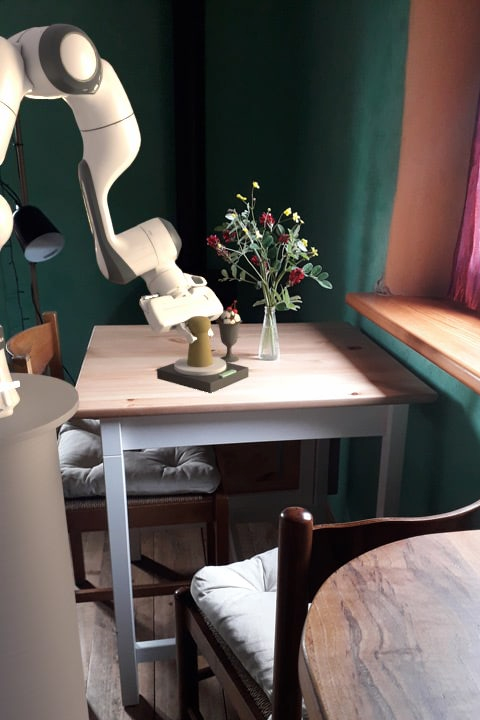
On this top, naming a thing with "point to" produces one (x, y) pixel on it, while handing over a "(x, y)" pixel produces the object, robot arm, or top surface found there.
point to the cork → (200, 342)
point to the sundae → (229, 331)
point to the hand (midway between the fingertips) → (202, 339)
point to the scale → (203, 374)
